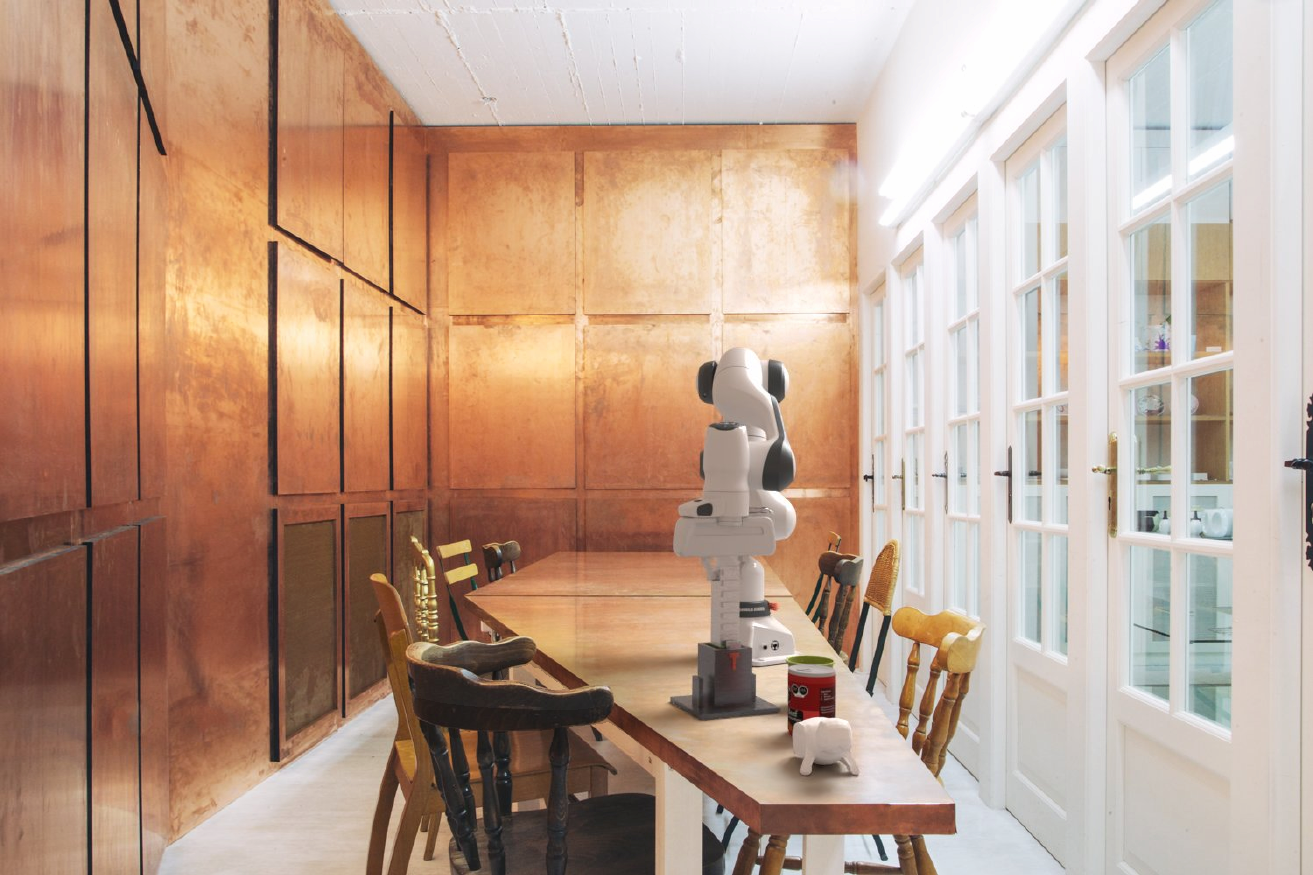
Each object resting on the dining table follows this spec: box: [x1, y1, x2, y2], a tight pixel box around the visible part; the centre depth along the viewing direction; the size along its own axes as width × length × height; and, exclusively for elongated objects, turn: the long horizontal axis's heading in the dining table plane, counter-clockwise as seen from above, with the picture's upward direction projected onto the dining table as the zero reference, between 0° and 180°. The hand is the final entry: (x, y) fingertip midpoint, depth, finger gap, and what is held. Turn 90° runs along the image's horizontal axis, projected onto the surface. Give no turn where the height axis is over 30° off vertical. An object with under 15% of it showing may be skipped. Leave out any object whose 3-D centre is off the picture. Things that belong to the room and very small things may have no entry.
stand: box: [669, 640, 781, 721], centre depth 167 cm, size 16×14×13 cm
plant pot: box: [786, 654, 837, 669], centre depth 169 cm, size 9×9×9 cm
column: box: [709, 564, 740, 649], centre depth 168 cm, size 4×5×20 cm
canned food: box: [787, 664, 837, 737], centre depth 150 cm, size 8×8×11 cm
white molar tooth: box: [792, 717, 861, 776], centre depth 132 cm, size 9×8×15 cm
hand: (725, 580), depth 168 cm, fingers closed on column, 4 cm apart
